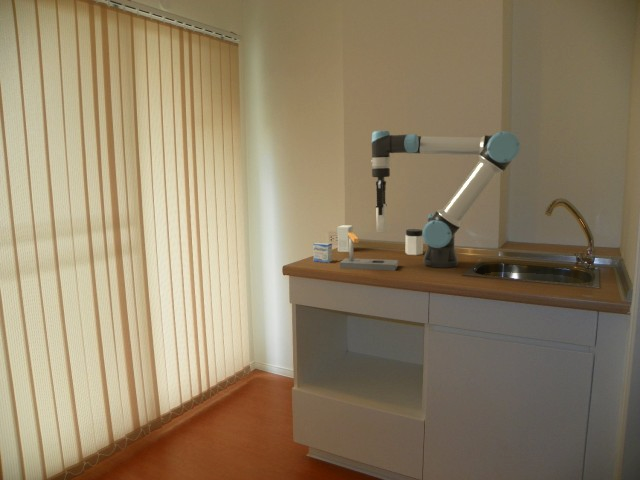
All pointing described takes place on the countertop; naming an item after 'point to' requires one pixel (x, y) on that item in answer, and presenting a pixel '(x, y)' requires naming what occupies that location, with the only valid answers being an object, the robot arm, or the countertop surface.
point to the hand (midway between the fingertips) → (381, 221)
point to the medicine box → (322, 252)
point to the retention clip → (353, 237)
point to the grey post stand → (367, 262)
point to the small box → (343, 237)
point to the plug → (381, 226)
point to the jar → (414, 242)
